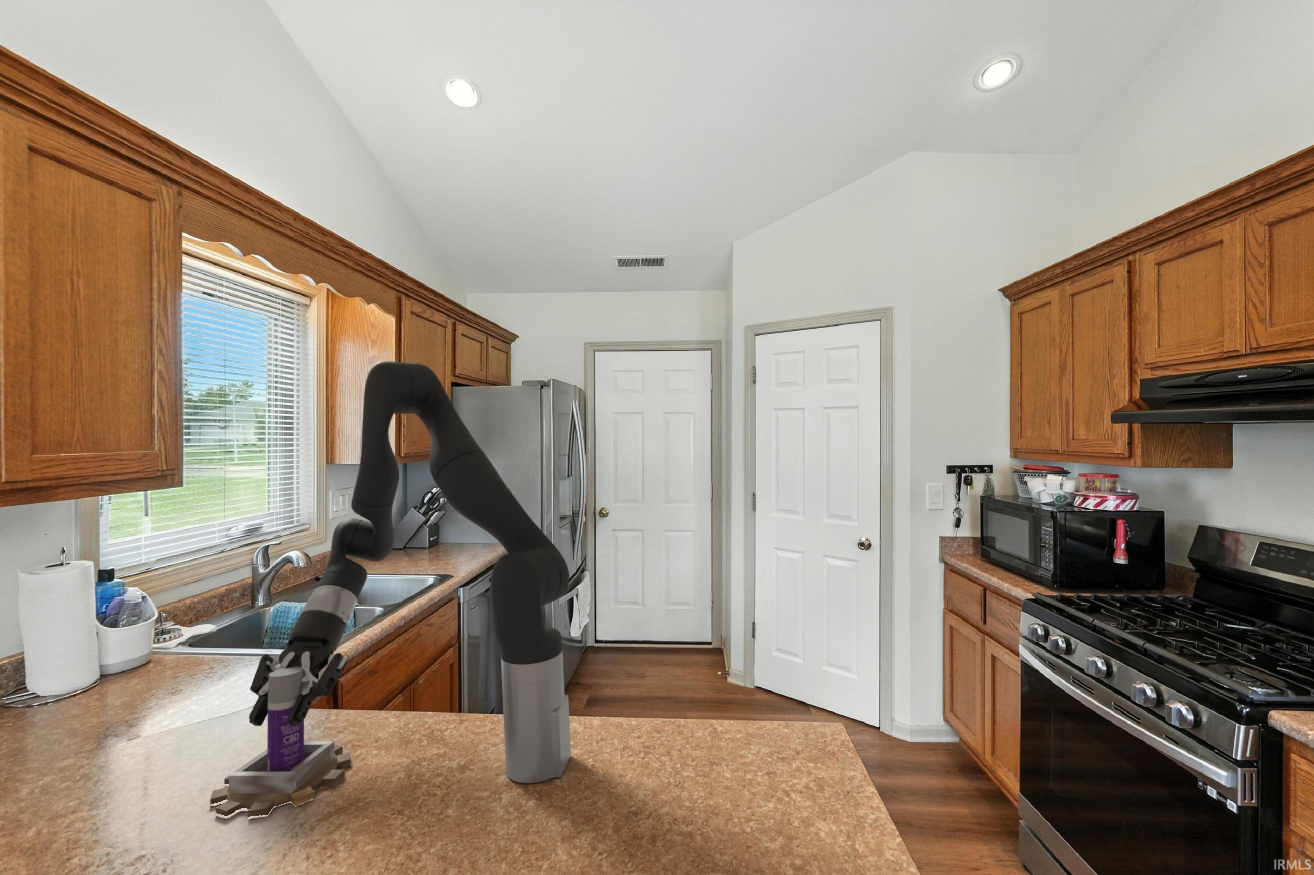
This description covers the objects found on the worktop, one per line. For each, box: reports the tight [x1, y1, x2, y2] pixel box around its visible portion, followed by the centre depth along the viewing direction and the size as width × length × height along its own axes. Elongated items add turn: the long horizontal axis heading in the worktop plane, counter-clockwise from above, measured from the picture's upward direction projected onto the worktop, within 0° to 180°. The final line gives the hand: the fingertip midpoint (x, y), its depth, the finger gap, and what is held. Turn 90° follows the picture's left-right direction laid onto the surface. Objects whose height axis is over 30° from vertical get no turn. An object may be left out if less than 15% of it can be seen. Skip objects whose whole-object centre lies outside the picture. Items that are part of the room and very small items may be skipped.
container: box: [266, 667, 305, 772], centre depth 86 cm, size 5×5×15 cm
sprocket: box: [209, 740, 352, 818], centre depth 86 cm, size 18×18×4 cm
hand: (274, 723), depth 84 cm, fingers open, 5 cm apart
